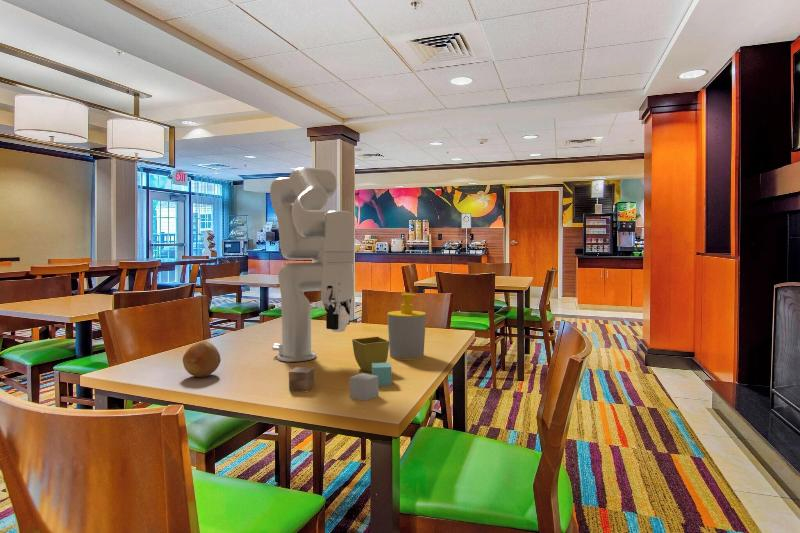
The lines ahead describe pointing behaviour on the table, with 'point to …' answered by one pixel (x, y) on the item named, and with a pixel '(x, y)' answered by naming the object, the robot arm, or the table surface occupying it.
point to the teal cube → (382, 373)
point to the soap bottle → (406, 331)
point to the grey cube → (363, 386)
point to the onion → (201, 359)
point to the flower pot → (370, 351)
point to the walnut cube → (301, 379)
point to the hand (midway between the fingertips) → (338, 326)
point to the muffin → (342, 319)
